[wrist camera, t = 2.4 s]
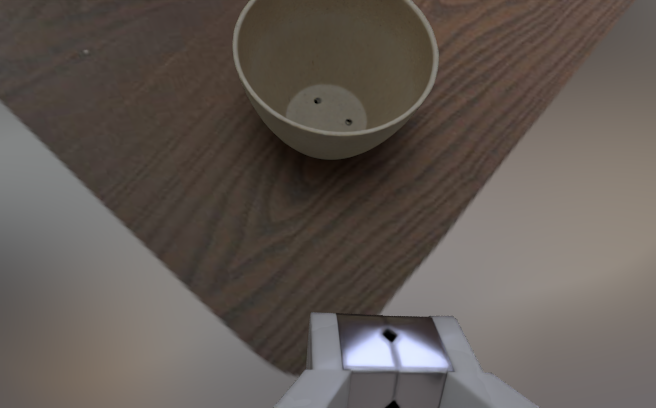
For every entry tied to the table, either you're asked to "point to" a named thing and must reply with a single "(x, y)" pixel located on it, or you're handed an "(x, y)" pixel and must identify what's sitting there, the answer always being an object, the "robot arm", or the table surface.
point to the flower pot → (335, 70)
